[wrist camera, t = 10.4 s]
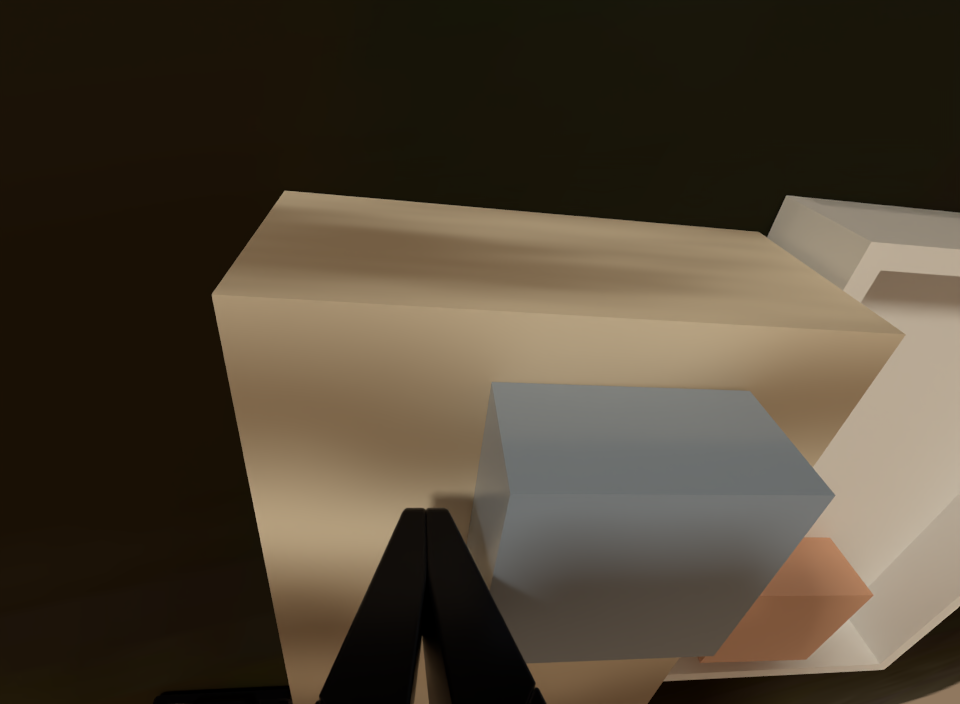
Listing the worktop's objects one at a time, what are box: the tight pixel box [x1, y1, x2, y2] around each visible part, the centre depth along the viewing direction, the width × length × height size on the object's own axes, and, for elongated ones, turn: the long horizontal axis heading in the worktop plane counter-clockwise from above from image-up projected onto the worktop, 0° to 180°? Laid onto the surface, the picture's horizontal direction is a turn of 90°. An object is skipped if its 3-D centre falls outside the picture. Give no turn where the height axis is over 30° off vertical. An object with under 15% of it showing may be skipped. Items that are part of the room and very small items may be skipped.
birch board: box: [212, 191, 906, 704], centre depth 16 cm, size 18×12×5 cm, turn 173°
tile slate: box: [466, 382, 836, 664], centre depth 10 cm, size 5×5×2 cm
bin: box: [664, 196, 960, 681], centre depth 18 cm, size 20×13×3 cm, turn 173°
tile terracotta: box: [698, 537, 874, 663], centre depth 21 cm, size 5×5×2 cm
